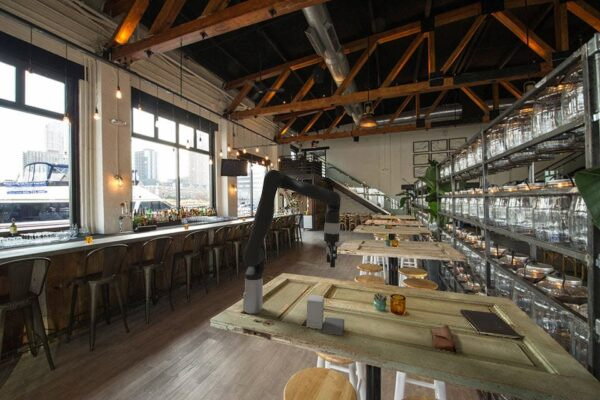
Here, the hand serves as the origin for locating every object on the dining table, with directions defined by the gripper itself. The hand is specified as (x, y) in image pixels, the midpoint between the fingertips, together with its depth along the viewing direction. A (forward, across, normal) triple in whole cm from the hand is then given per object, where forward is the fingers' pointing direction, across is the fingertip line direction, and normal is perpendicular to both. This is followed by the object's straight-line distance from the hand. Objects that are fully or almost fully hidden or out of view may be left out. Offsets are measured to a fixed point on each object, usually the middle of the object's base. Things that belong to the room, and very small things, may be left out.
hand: (330, 264), depth 127 cm
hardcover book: (+26, +11, +76) cm, 81 cm away
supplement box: (+27, +5, -7) cm, 29 cm away
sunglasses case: (+27, +22, +44) cm, 56 cm away
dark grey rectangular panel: (+27, +7, +1) cm, 28 cm away
